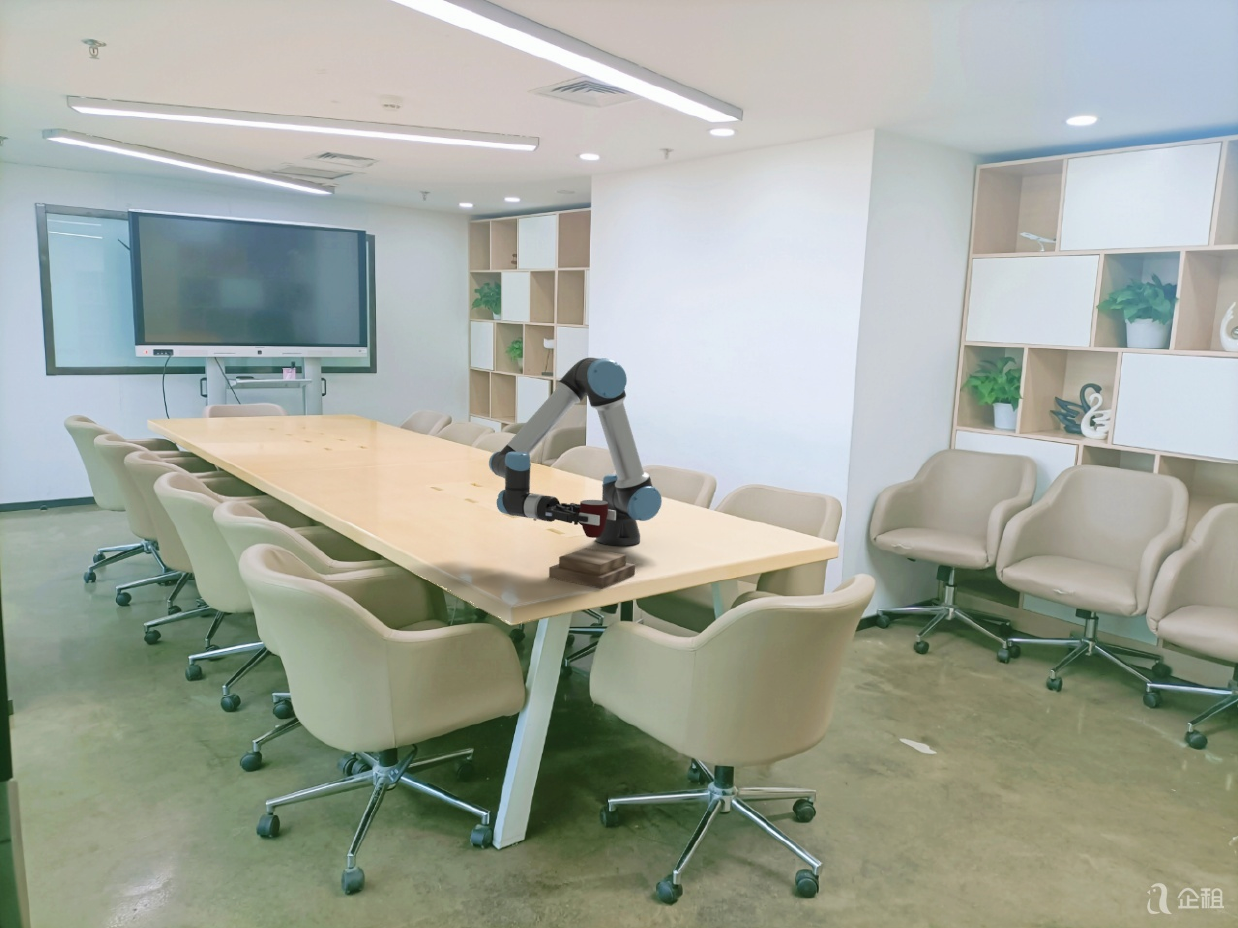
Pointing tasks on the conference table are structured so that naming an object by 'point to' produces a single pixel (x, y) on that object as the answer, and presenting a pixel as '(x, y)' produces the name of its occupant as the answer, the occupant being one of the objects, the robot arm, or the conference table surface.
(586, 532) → the mug
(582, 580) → the stand
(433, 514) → the conference table surface
